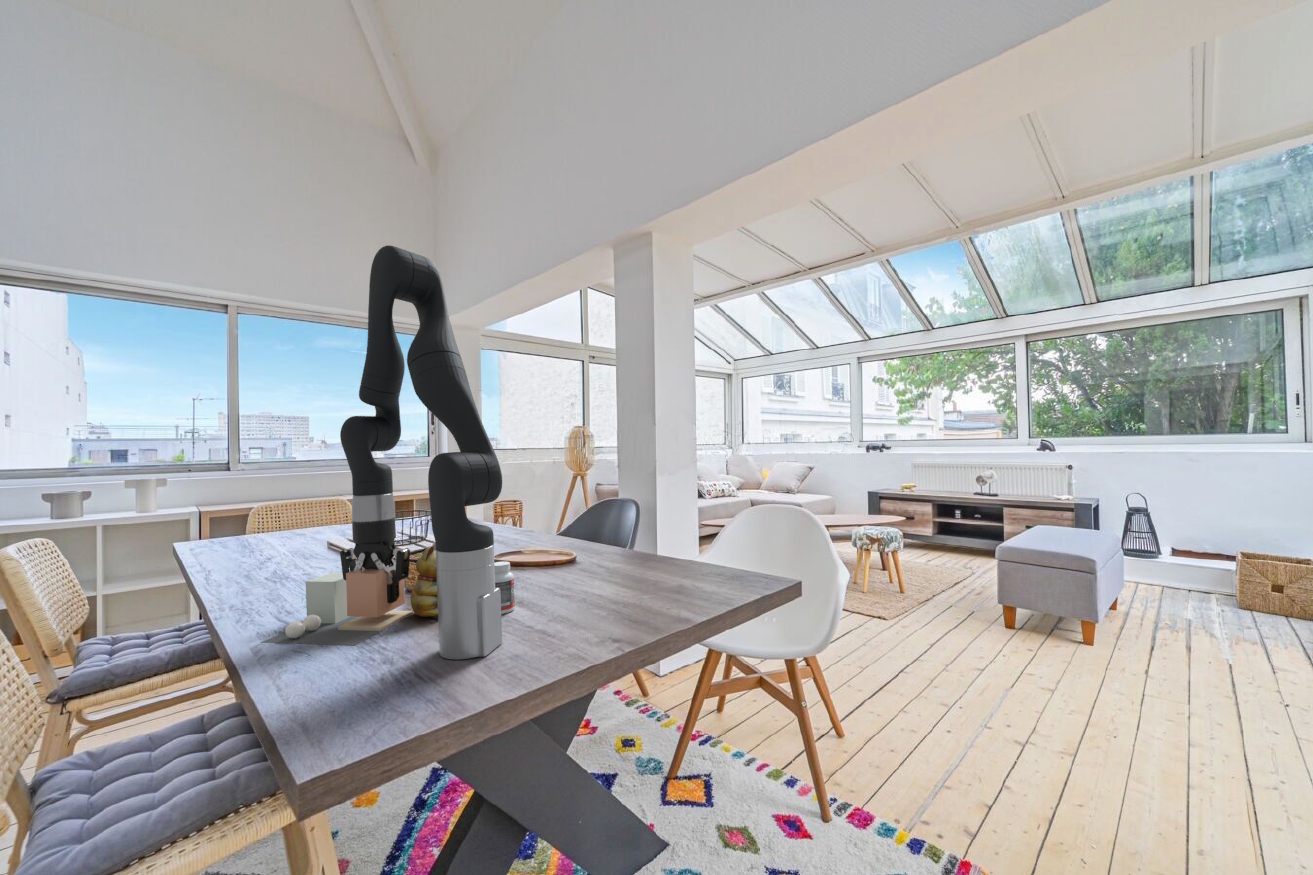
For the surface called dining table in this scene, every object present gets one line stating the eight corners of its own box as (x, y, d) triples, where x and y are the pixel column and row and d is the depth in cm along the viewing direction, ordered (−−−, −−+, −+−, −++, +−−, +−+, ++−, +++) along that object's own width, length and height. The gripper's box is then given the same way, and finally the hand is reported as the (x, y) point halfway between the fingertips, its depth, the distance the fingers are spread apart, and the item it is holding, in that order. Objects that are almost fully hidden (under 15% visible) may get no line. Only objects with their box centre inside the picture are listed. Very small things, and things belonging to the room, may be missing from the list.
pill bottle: (518, 611, 109) (516, 563, 109) (492, 617, 106) (490, 568, 106) (510, 605, 114) (508, 559, 114) (484, 610, 111) (482, 563, 111)
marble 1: (309, 635, 98) (308, 619, 98) (295, 641, 95) (295, 624, 95) (295, 635, 99) (294, 618, 99) (281, 641, 96) (280, 624, 96)
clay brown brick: (405, 603, 109) (403, 563, 109) (377, 617, 101) (375, 573, 101) (377, 602, 110) (375, 563, 110) (347, 616, 102) (345, 573, 102)
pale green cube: (358, 612, 111) (357, 573, 111) (335, 623, 105) (333, 581, 105) (331, 612, 112) (330, 573, 112) (307, 622, 106) (305, 581, 106)
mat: (415, 615, 109) (414, 611, 109) (354, 647, 92) (354, 642, 92) (333, 613, 113) (333, 609, 113) (260, 644, 96) (260, 639, 96)
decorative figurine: (443, 623, 104) (440, 546, 104) (401, 624, 104) (398, 547, 104) (461, 607, 113) (459, 537, 113) (423, 609, 113) (420, 538, 113)
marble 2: (325, 628, 102) (324, 612, 102) (312, 634, 99) (312, 617, 99) (311, 628, 103) (311, 612, 103) (298, 633, 100) (298, 617, 100)
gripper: (418, 514, 108) (421, 596, 108) (355, 514, 110) (358, 595, 110) (393, 519, 100) (396, 608, 100) (327, 520, 103) (329, 607, 103)
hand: (376, 601), depth 105 cm, fingers closed on clay brown brick, 6 cm apart
